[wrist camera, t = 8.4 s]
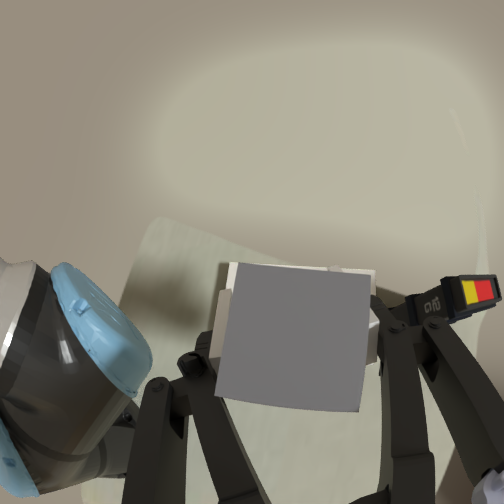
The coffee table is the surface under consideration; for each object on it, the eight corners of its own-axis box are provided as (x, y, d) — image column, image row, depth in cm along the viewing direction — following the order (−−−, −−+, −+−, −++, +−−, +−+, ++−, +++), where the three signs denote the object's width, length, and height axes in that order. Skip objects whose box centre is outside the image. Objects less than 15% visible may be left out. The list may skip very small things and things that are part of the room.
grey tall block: (256, 380, 19) (214, 395, 8) (266, 317, 21) (238, 259, 10) (321, 387, 18) (358, 412, 8) (329, 323, 20) (370, 272, 9)
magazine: (356, 316, 31) (455, 271, 18) (419, 309, 35) (500, 271, 22) (360, 346, 30) (465, 313, 17) (424, 333, 33) (507, 301, 21)
